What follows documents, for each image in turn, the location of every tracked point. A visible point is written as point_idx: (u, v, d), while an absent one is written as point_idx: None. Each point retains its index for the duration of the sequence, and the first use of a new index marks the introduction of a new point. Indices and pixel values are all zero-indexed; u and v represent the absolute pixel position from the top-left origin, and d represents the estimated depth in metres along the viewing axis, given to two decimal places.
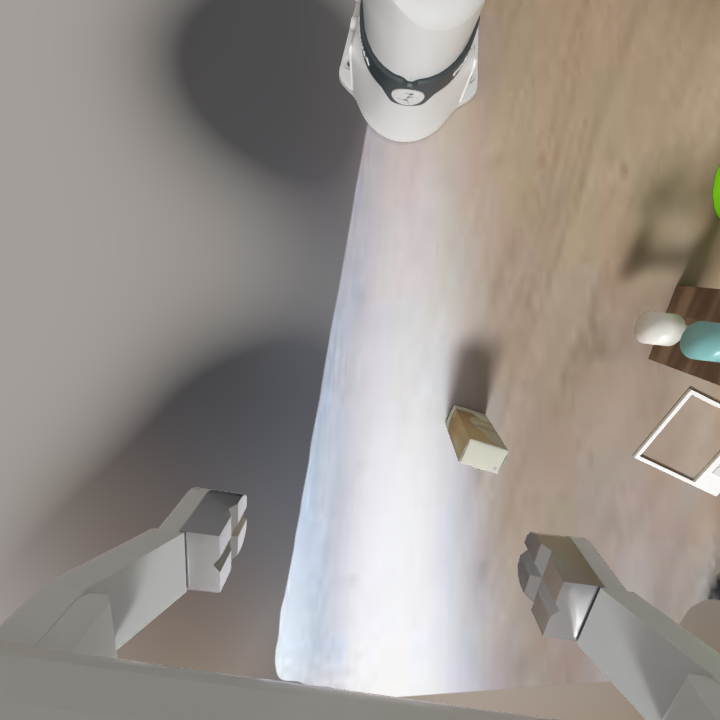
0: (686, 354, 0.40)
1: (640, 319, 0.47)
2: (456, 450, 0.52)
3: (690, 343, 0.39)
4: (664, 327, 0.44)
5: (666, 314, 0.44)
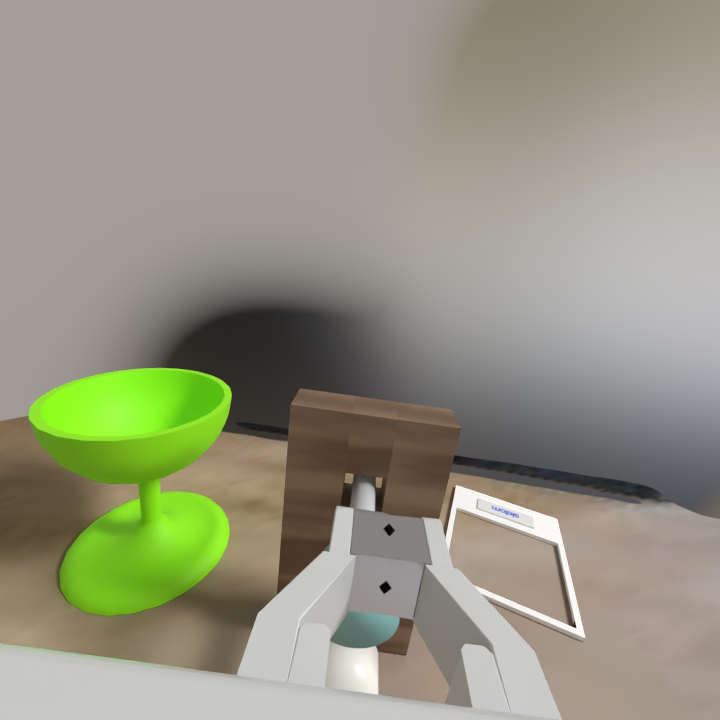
0: (390, 631, 0.17)
1: None
2: None
3: (364, 628, 0.17)
4: (335, 678, 0.19)
5: None
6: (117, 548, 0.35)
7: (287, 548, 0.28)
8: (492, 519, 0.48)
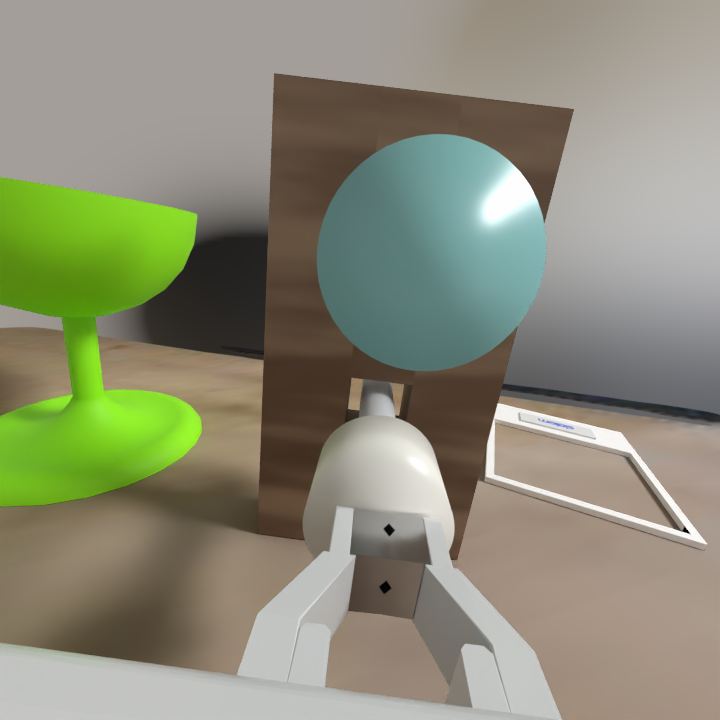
0: (517, 308, 0.07)
1: None
2: None
3: (450, 303, 0.07)
4: (371, 457, 0.10)
5: (317, 473, 0.11)
6: (36, 432, 0.25)
7: (273, 375, 0.17)
8: (541, 430, 0.38)
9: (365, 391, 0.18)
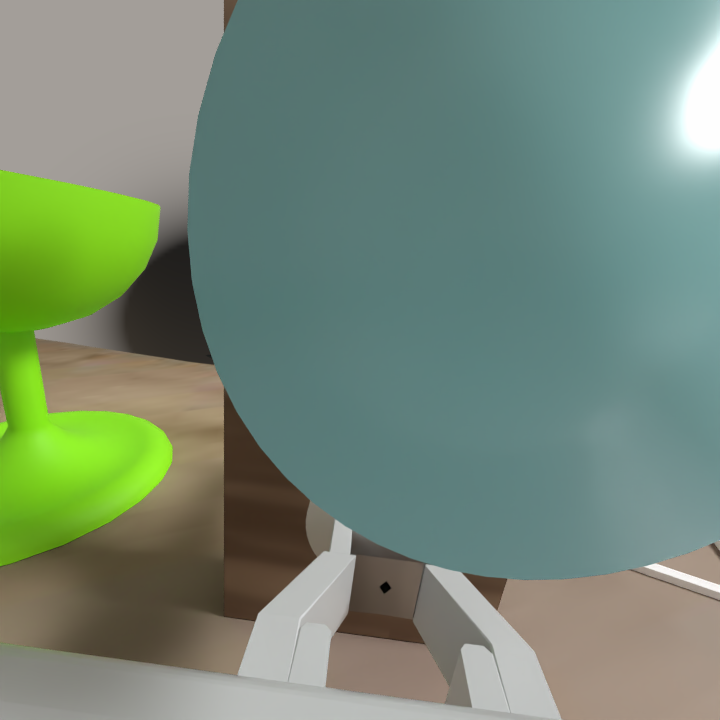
0: None
1: None
2: None
3: (629, 405, 0.02)
4: None
5: None
6: None
7: (238, 418, 0.13)
8: None
9: None
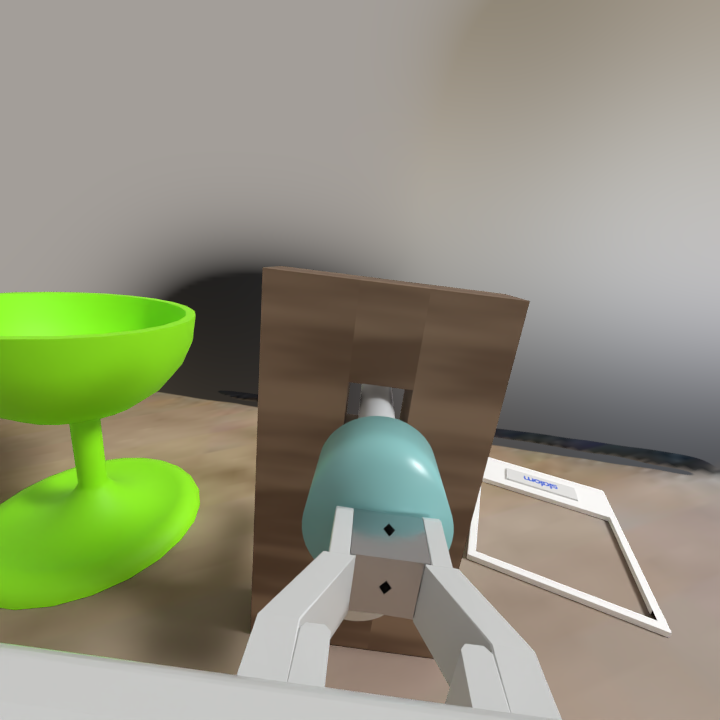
0: None
1: None
2: None
3: None
4: None
5: None
6: (44, 521, 0.26)
7: (264, 504, 0.19)
8: (526, 490, 0.39)
9: None
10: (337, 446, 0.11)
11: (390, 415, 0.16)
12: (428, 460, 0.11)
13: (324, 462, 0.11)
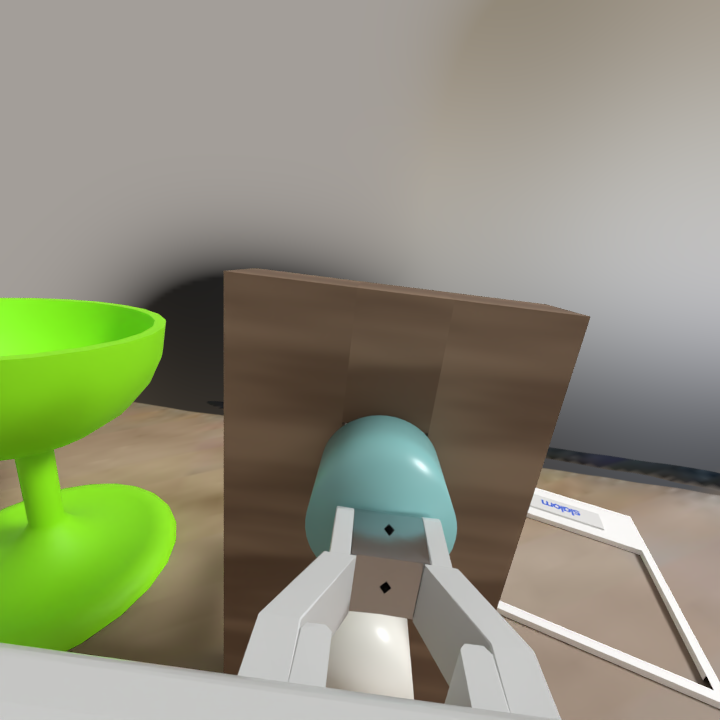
0: None
1: None
2: None
3: None
4: (346, 643, 0.12)
5: None
6: None
7: (235, 573, 0.15)
8: (545, 518, 0.35)
9: None
10: (340, 445, 0.11)
11: None
12: (431, 459, 0.11)
13: (327, 461, 0.11)
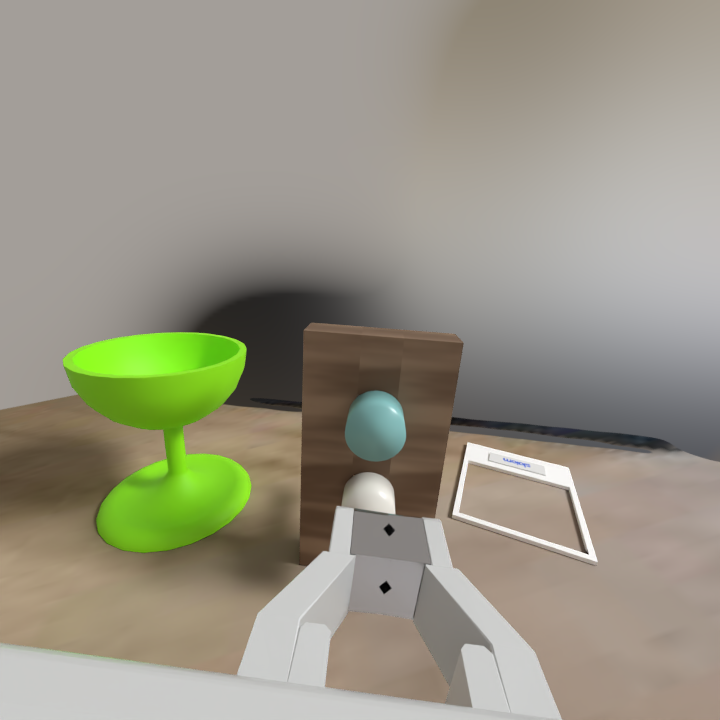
0: (400, 445, 0.24)
1: None
2: None
3: (382, 444, 0.24)
4: (363, 493, 0.26)
5: (343, 498, 0.27)
6: (148, 498, 0.38)
7: (307, 475, 0.29)
8: (504, 469, 0.49)
9: None
10: (357, 403, 0.25)
11: None
12: (396, 407, 0.25)
13: (352, 409, 0.25)
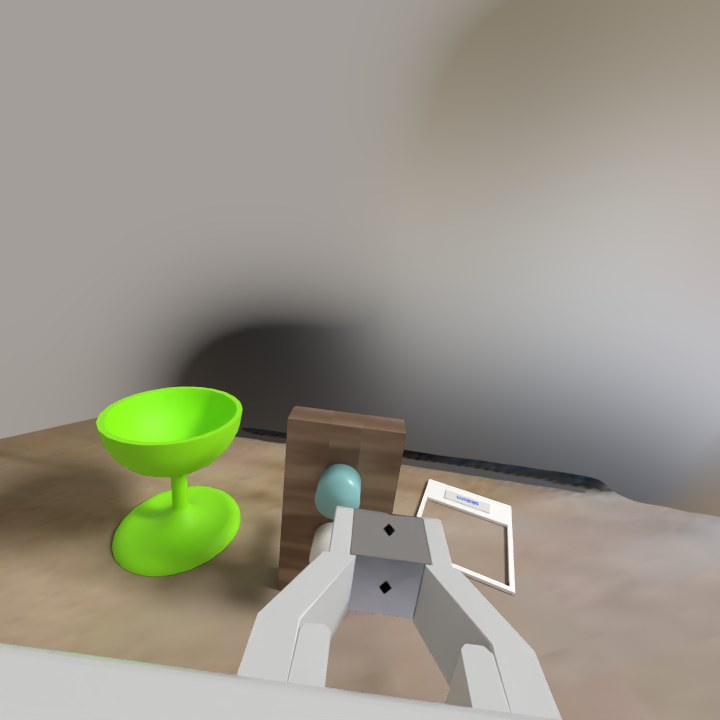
0: None
1: None
2: None
3: None
4: (328, 541, 0.35)
5: (313, 543, 0.36)
6: (155, 528, 0.46)
7: (286, 522, 0.38)
8: (456, 506, 0.58)
9: None
10: (325, 475, 0.34)
11: None
12: (354, 479, 0.34)
13: (321, 480, 0.34)
